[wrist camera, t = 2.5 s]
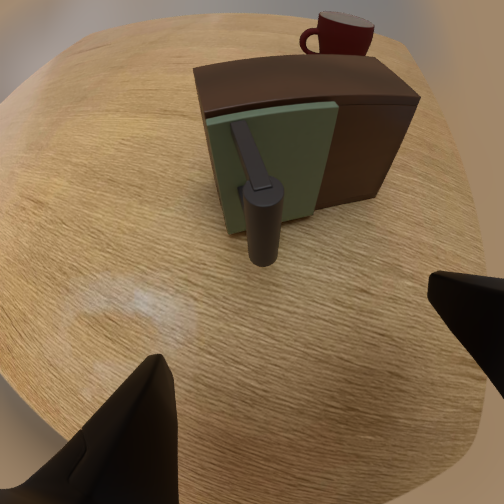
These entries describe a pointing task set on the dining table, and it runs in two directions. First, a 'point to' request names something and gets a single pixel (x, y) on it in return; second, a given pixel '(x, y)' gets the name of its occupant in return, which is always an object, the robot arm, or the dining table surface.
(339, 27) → the mug
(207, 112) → the cabinet
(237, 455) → the dining table surface
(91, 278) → the dining table surface
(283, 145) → the door
